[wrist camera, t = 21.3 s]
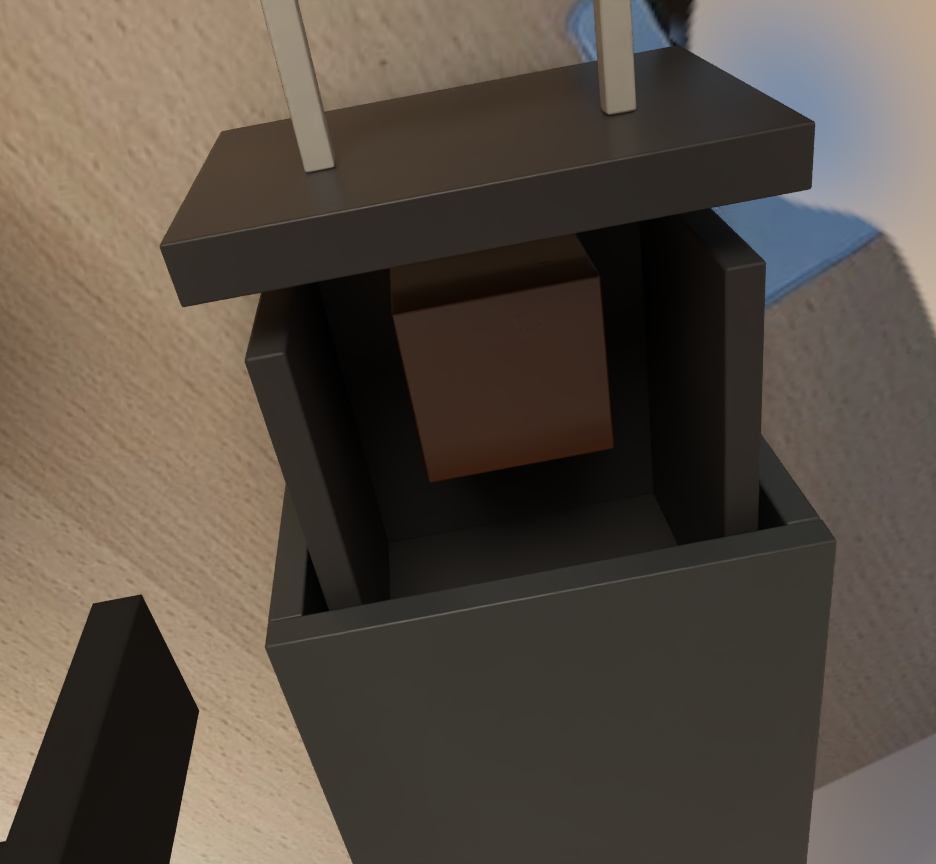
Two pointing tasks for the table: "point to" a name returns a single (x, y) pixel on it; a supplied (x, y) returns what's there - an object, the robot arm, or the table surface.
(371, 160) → the drawer
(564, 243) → the block
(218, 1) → the table surface
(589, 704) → the cabinet
